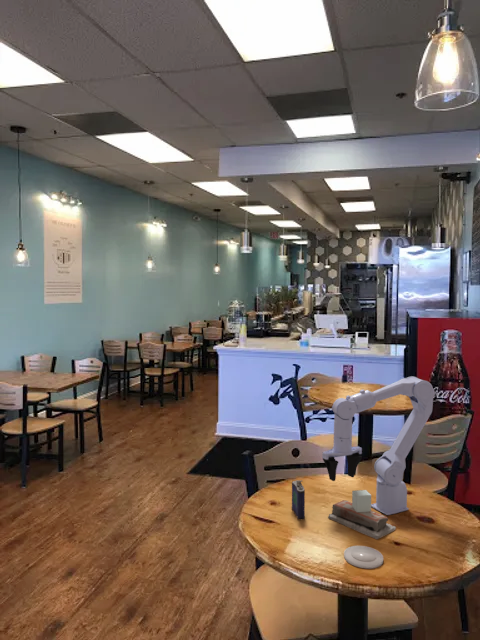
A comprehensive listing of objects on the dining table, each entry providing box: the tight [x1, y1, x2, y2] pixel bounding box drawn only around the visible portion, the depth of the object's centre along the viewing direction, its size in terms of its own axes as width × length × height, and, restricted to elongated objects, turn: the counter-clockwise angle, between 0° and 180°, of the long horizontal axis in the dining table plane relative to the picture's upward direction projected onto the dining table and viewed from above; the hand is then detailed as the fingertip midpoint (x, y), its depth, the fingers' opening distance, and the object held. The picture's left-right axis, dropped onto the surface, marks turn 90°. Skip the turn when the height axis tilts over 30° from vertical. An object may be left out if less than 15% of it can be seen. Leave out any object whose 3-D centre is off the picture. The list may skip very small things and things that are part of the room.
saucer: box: [343, 545, 384, 570], centre depth 128 cm, size 10×10×1 cm
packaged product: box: [327, 499, 397, 540], centre depth 148 cm, size 18×5×10 cm
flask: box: [291, 479, 306, 521], centre depth 155 cm, size 9×3×11 cm, turn 8°
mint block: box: [351, 489, 372, 512], centre depth 148 cm, size 4×4×5 cm
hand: (341, 478), depth 157 cm, fingers open, 7 cm apart
